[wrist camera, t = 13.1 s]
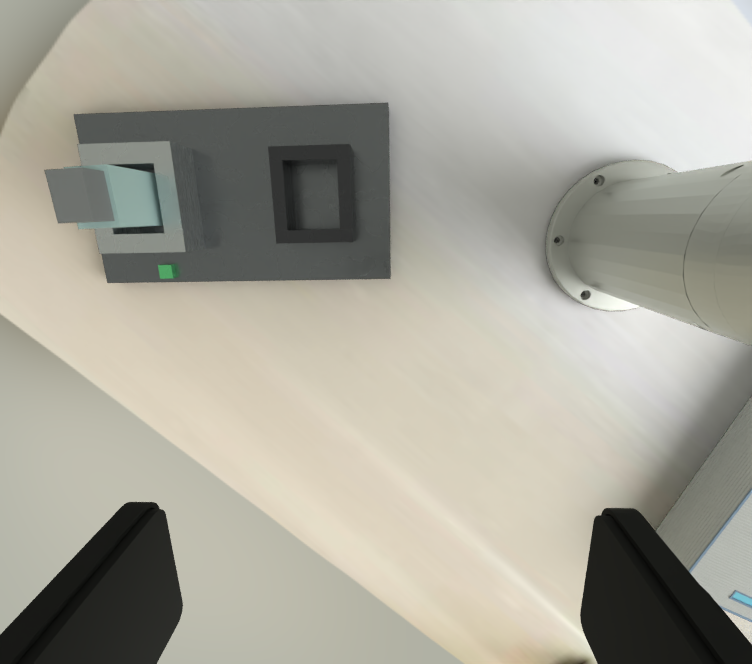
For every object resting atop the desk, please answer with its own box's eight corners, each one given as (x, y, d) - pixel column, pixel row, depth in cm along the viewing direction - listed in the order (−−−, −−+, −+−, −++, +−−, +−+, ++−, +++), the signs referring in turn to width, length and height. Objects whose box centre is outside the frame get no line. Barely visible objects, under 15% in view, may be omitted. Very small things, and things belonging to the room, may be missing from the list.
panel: (388, 107, 34) (387, 89, 29) (390, 276, 37) (389, 284, 33) (86, 118, 35) (37, 102, 30) (118, 280, 39) (78, 289, 34)
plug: (171, 176, 35) (84, 160, 25) (179, 224, 36) (100, 227, 26) (137, 178, 35) (38, 163, 25) (146, 226, 36) (55, 230, 26)
